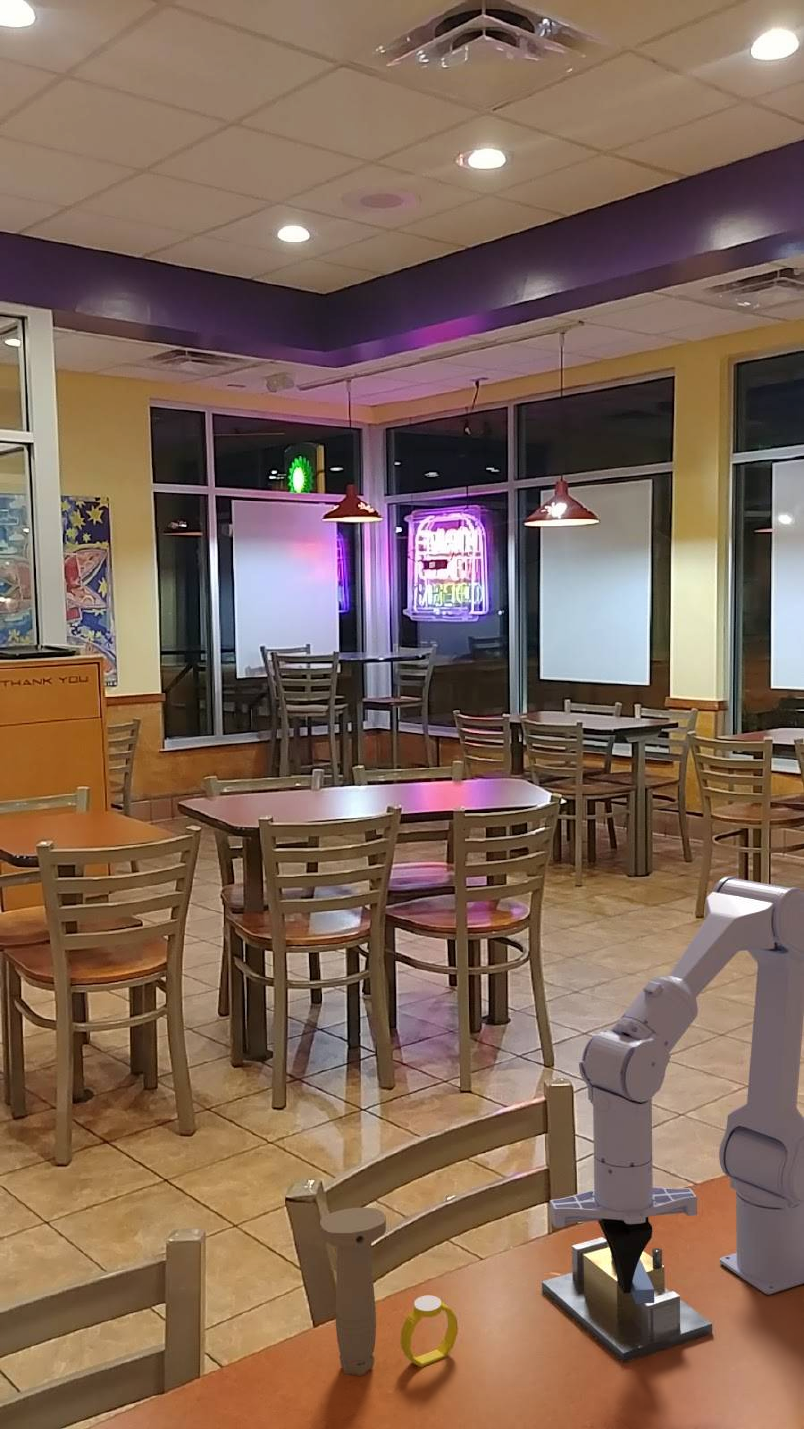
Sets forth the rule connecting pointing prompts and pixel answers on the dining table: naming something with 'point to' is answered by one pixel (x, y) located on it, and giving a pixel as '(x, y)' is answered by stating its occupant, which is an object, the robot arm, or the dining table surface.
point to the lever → (641, 1285)
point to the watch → (428, 1308)
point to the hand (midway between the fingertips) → (624, 1288)
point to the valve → (623, 1304)
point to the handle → (354, 1283)
